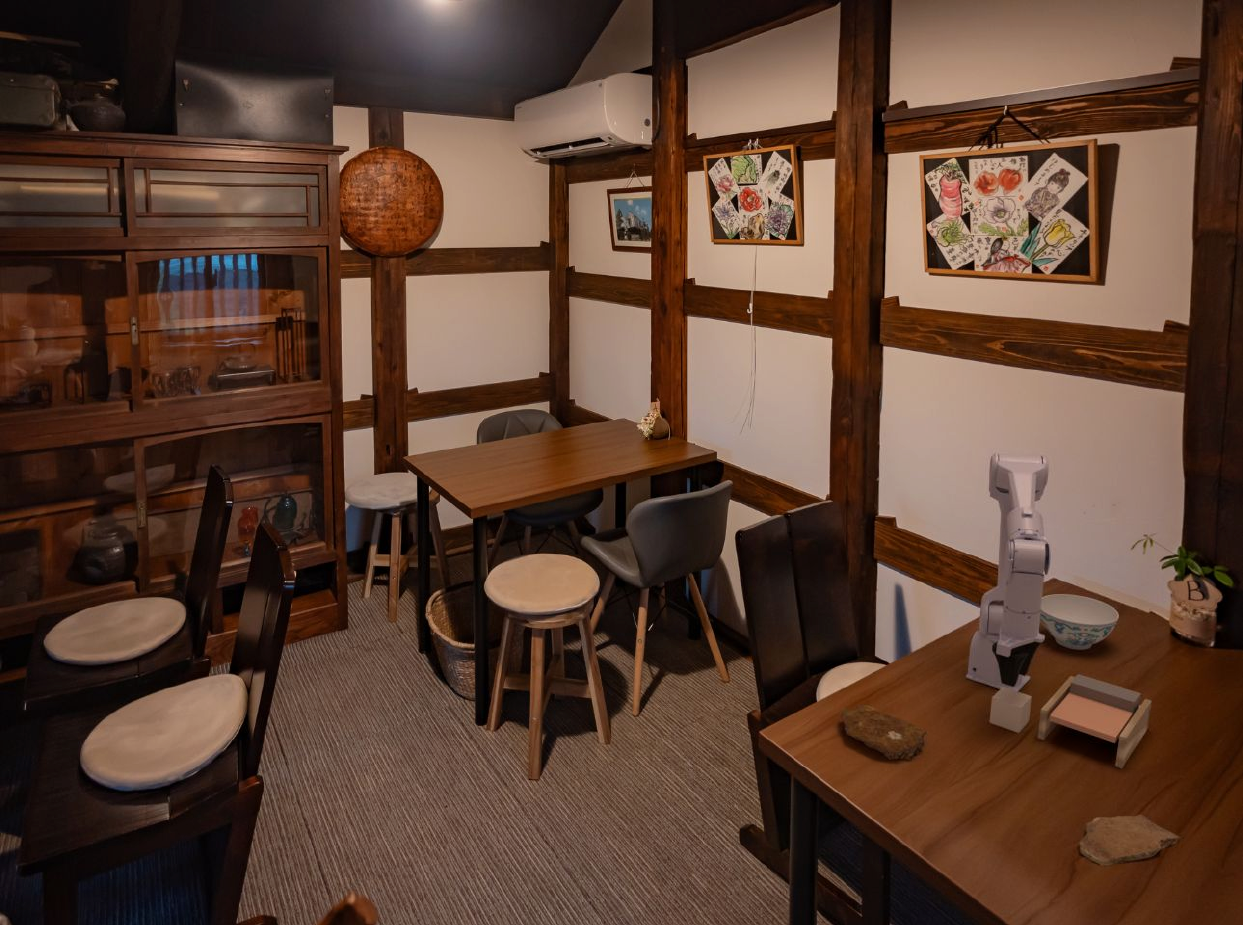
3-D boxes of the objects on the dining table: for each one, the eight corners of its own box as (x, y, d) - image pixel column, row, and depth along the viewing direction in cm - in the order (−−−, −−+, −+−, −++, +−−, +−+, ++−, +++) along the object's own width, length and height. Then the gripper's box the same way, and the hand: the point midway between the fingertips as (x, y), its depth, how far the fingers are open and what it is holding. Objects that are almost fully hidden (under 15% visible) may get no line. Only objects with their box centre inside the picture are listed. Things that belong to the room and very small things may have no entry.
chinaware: (1041, 621, 193) (1045, 588, 191) (1118, 637, 185) (1122, 604, 183) (1027, 647, 181) (1031, 612, 179) (1108, 666, 173) (1113, 630, 171)
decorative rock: (821, 738, 151) (902, 776, 141) (822, 718, 150) (904, 755, 140) (854, 709, 159) (933, 743, 149) (856, 690, 157) (935, 722, 147)
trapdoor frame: (1037, 738, 149) (1041, 709, 147) (1067, 703, 160) (1070, 675, 158) (1121, 768, 140) (1126, 738, 139) (1147, 729, 151) (1151, 700, 150)
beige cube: (989, 722, 154) (992, 697, 153) (1000, 711, 157) (1002, 686, 156) (1018, 733, 151) (1021, 707, 149) (1029, 721, 154) (1031, 696, 153)
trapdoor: (1049, 720, 147) (1051, 704, 146) (1076, 689, 157) (1078, 674, 156) (1114, 743, 140) (1117, 726, 139) (1138, 708, 150) (1140, 693, 149)
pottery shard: (1118, 889, 117) (1183, 842, 124) (1119, 873, 116) (1184, 827, 123) (1061, 852, 124) (1125, 810, 131) (1061, 837, 123) (1126, 796, 130)
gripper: (1031, 627, 140) (1022, 703, 144) (1061, 600, 151) (1052, 671, 154) (987, 615, 145) (979, 688, 149) (1019, 589, 155) (1011, 658, 159)
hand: (1013, 679), depth 152 cm, fingers open, 5 cm apart
